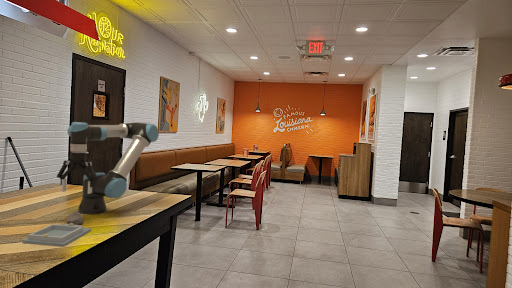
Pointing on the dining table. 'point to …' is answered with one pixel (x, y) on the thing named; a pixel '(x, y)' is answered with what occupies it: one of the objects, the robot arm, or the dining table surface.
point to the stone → (75, 218)
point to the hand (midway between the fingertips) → (76, 192)
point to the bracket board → (57, 235)
